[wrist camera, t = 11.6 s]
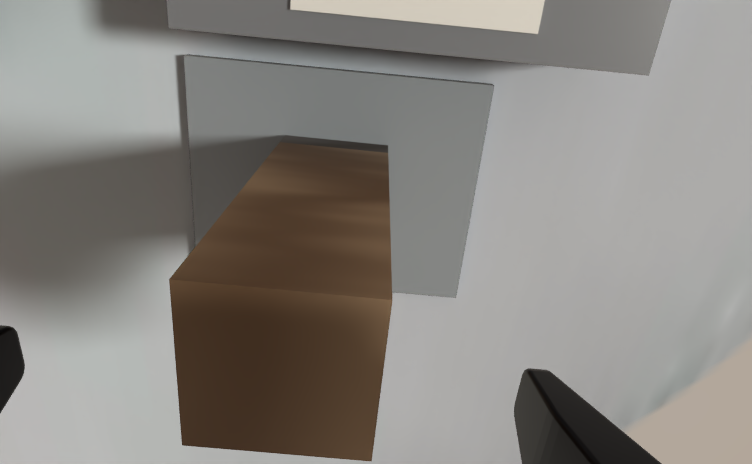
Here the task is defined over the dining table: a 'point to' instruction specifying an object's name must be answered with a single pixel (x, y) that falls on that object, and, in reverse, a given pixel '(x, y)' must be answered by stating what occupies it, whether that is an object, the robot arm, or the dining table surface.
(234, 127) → the slate mat
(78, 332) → the dining table surface
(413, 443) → the dining table surface
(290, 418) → the long wooden beam
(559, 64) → the box
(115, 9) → the dining table surface
